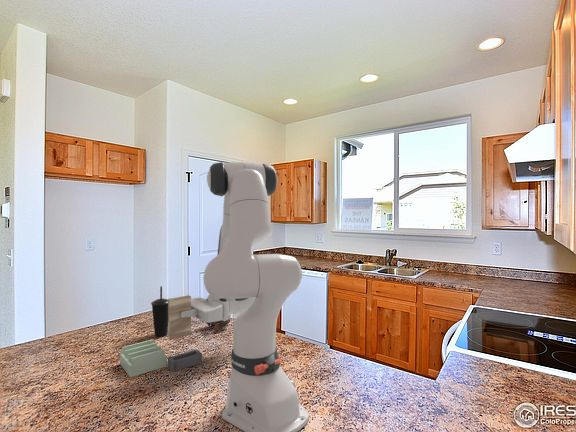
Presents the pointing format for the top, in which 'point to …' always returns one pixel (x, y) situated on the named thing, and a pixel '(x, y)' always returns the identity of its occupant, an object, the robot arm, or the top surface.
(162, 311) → the drinking cup
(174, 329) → the maple board
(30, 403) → the top surface
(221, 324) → the pottery mug
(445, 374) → the top surface
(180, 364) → the board stand
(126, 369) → the dish rack
